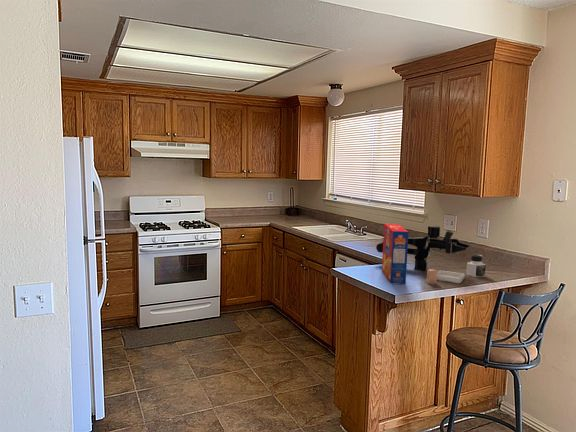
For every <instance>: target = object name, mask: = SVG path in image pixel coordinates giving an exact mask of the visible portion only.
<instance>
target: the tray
mask: <svg viewBox="0 0 576 432" xmlns="http://www.w3.org/2000/svg"><path fill="white" fill-rule="evenodd" d="M465 274H466V273H462V272H455V271H448V270H437V281H441V282H449V283H453V284H461V283H462V282H463V280H465V276H466V275H465Z"/></svg>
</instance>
